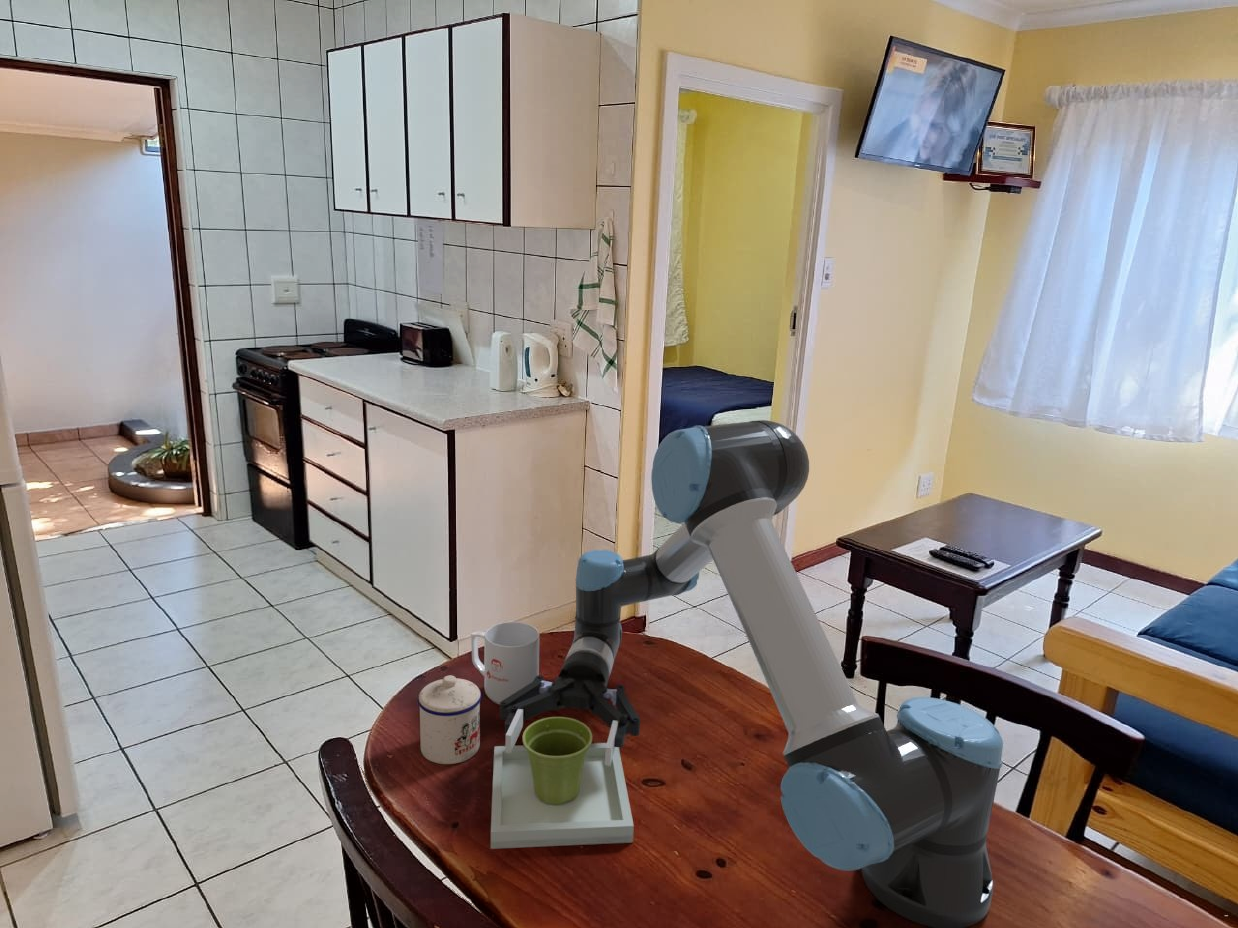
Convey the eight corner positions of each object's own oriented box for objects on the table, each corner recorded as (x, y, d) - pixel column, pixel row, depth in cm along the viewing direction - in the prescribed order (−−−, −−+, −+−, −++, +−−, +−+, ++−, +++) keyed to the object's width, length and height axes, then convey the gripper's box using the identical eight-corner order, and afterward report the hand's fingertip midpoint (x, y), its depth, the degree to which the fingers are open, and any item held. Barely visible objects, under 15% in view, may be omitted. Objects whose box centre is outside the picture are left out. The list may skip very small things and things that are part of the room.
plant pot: (512, 807, 113) (513, 750, 110) (533, 765, 122) (533, 711, 119) (581, 819, 111) (583, 761, 109) (597, 775, 120) (599, 721, 118)
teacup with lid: (464, 772, 121) (463, 699, 118) (407, 758, 123) (405, 687, 120) (499, 727, 132) (499, 659, 129) (446, 715, 135) (445, 649, 131)
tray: (632, 842, 109) (633, 825, 108) (490, 848, 107) (490, 831, 106) (617, 757, 126) (617, 742, 125) (494, 761, 124) (494, 746, 123)
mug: (547, 688, 144) (549, 628, 141) (520, 714, 136) (521, 651, 133) (487, 671, 148) (487, 613, 145) (457, 695, 140) (457, 634, 137)
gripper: (663, 701, 133) (649, 786, 113) (508, 683, 136) (467, 762, 116) (666, 658, 131) (652, 737, 111) (509, 641, 134) (467, 714, 114)
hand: (557, 750), depth 113 cm, fingers open, 13 cm apart
